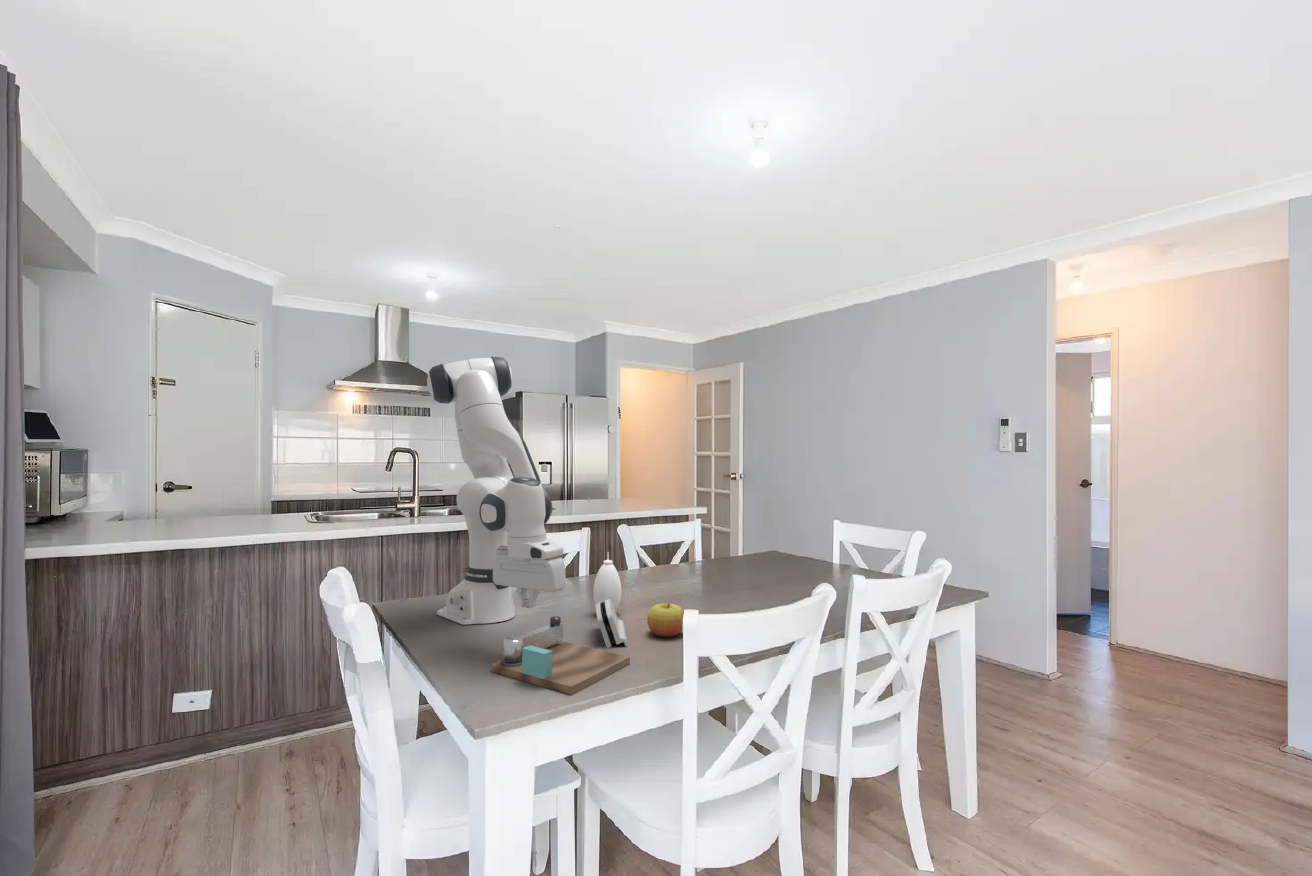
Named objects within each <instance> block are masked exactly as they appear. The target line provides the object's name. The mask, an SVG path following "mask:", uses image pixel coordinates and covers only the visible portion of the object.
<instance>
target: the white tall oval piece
mask: <svg viewBox="0 0 1312 876" xmlns="http://www.w3.org/2000/svg"><path fill="white" fill-rule="evenodd" d="M609 557H610V554H609V551H607V555H606V560H603V562H602V565H601V566H600V568H599V569H598V570H597V574H596V577H595V579H594V584H593V592H592V593H593V594H592V595H593V601H594V605H595V606H596V604H598V603H599V602H603V603H604V601H605V600H608V599H611V601H612V604H613V607H614V609H615V612H616V611H617V610H618V609H619V607H620V604H621V601H622V582H621V578H620V575H619V573H618V570H617V568H616V567H615V565H614V564H613V563H614V562H613V560H612V559H610V558H609Z"/></svg>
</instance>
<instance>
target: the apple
mask: <svg viewBox="0 0 1312 876" xmlns="http://www.w3.org/2000/svg"><path fill="white" fill-rule="evenodd" d="M684 613H685V611H684V610H683V608H682V607H681V606H679V605H678V604H673V603H669V602H667V603H657V604H654V605H653V606H651V608H650V609H649V611H648V613H647V619H646V622H647V626H648V628H649V629H650V631H651V633H652V634H654V635H655V636H658V637H661V638H672V637H676V636H677V635H679V634H680V633H681V632H682V631H683V630H682V618H683V614H684Z"/></svg>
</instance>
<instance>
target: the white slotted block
mask: <svg viewBox="0 0 1312 876" xmlns="http://www.w3.org/2000/svg"><path fill="white" fill-rule="evenodd" d="M595 612H596V618H597V622H598V626H599V629H600V631H601V634H602V637H603V640H604V644H605V647H606V648H612V646H614V645H615V644H616V645H619V644H621V643H623V644H624V647H625V648H628V638H627V632H626V626H625V623H624V620H623V619H619V618H618V615H617V613H616V611H615V609H614V607H613V604H612V601H611V599H608V600H605V601H604V603H603V602H599V603H598V604H596V605H595ZM613 643H614V644H613Z"/></svg>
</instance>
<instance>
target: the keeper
mask: <svg viewBox="0 0 1312 876" xmlns="http://www.w3.org/2000/svg"><path fill="white" fill-rule="evenodd" d="M522 673H524V674H527V675H531V676H535V677H538V678H542V679H546V678H548V677H550V676H552V651H551V650H547V649H543V648H539V647H535V646H527V647H524V648H522Z"/></svg>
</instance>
